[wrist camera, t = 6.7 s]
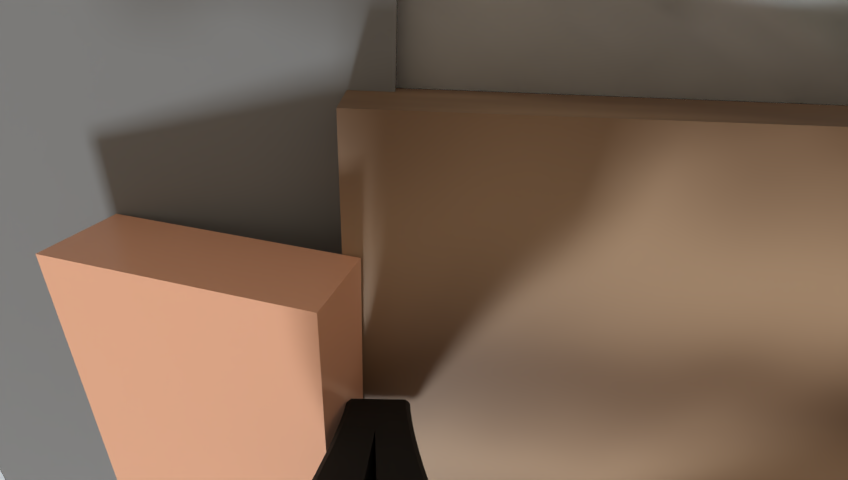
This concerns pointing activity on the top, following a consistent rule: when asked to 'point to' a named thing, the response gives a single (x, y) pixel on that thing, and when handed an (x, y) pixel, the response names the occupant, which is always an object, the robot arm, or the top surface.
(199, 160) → the mat
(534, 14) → the top surface
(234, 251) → the tile
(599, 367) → the brown flat square slab
